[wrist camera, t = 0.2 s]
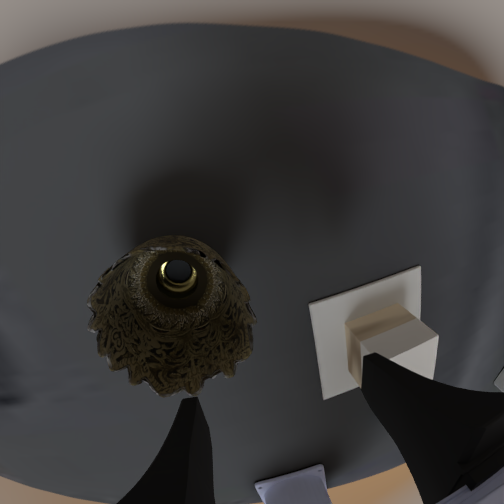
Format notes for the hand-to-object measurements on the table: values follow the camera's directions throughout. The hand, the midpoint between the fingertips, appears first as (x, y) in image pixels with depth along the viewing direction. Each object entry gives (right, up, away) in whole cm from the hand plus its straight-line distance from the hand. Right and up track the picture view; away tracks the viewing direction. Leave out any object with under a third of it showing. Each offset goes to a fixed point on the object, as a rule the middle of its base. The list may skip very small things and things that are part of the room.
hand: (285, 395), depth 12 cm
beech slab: (+9, -1, +12) cm, 15 cm away
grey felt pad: (+9, -1, +12) cm, 15 cm away
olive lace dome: (-6, +5, +8) cm, 11 cm away
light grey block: (+9, -2, +9) cm, 13 cm away
